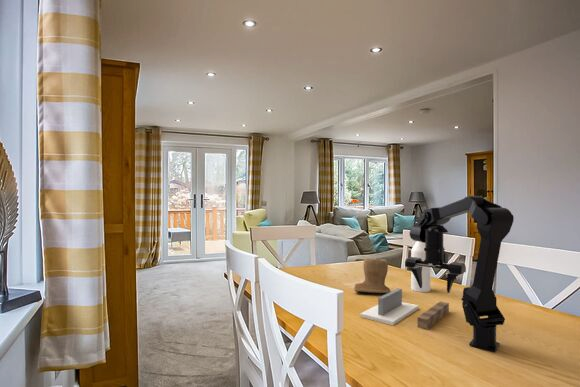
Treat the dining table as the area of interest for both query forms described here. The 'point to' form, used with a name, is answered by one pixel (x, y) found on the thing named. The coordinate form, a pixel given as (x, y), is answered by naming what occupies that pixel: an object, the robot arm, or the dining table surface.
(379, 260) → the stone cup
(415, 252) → the bottle
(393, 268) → the dining table surface
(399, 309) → the ridge
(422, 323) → the walnut bar
